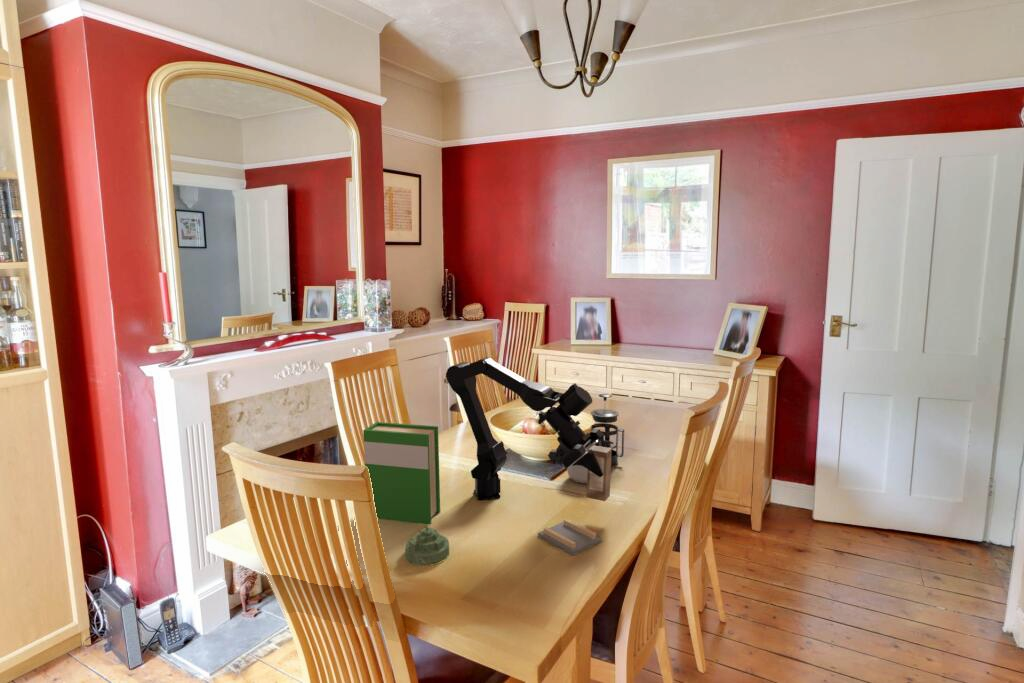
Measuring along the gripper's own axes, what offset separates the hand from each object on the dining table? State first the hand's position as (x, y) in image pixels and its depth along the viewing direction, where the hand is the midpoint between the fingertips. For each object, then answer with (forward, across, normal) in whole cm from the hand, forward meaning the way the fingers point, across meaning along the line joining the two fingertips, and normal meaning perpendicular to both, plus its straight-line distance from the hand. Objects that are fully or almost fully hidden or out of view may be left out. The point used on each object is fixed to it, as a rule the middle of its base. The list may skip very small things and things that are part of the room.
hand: (604, 473), depth 151 cm
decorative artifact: (-13, +34, -32) cm, 49 cm away
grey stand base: (+6, +14, -12) cm, 19 cm away
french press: (+1, -39, -17) cm, 42 cm away
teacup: (0, -24, -18) cm, 30 cm away
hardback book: (-25, +20, -44) cm, 54 cm away
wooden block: (+4, 0, -6) cm, 7 cm away
